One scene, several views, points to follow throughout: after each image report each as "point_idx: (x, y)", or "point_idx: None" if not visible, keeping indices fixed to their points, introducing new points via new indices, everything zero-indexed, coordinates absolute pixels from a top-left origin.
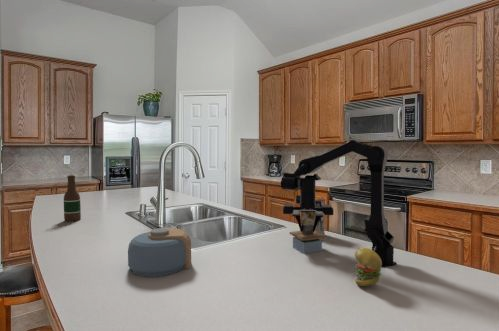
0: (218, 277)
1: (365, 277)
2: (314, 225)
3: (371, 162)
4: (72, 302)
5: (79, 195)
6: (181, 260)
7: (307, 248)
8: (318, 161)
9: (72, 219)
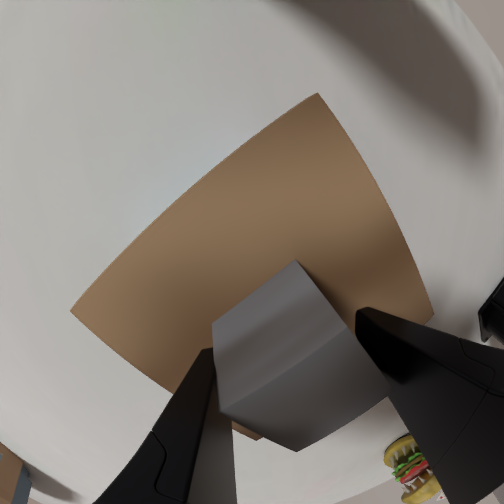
0: (97, 491)
1: (406, 454)
2: (403, 410)
3: None
4: (38, 500)
5: None
6: (24, 484)
7: None
8: None
9: None
